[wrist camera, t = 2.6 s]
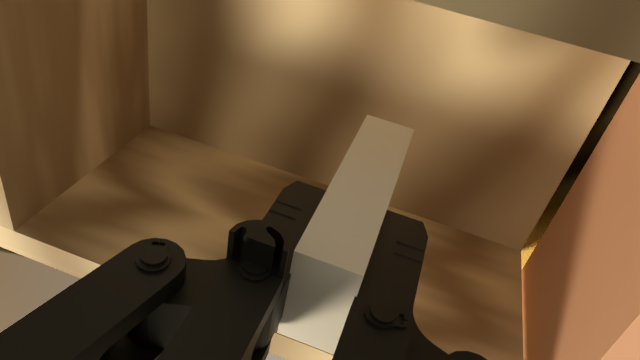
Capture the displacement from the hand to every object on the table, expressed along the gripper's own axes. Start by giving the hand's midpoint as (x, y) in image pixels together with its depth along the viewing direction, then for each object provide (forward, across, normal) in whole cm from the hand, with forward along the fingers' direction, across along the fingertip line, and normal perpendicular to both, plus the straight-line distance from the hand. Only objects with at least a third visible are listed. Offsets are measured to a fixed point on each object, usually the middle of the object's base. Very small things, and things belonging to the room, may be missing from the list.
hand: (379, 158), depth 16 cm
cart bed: (+7, -3, 0) cm, 7 cm away
